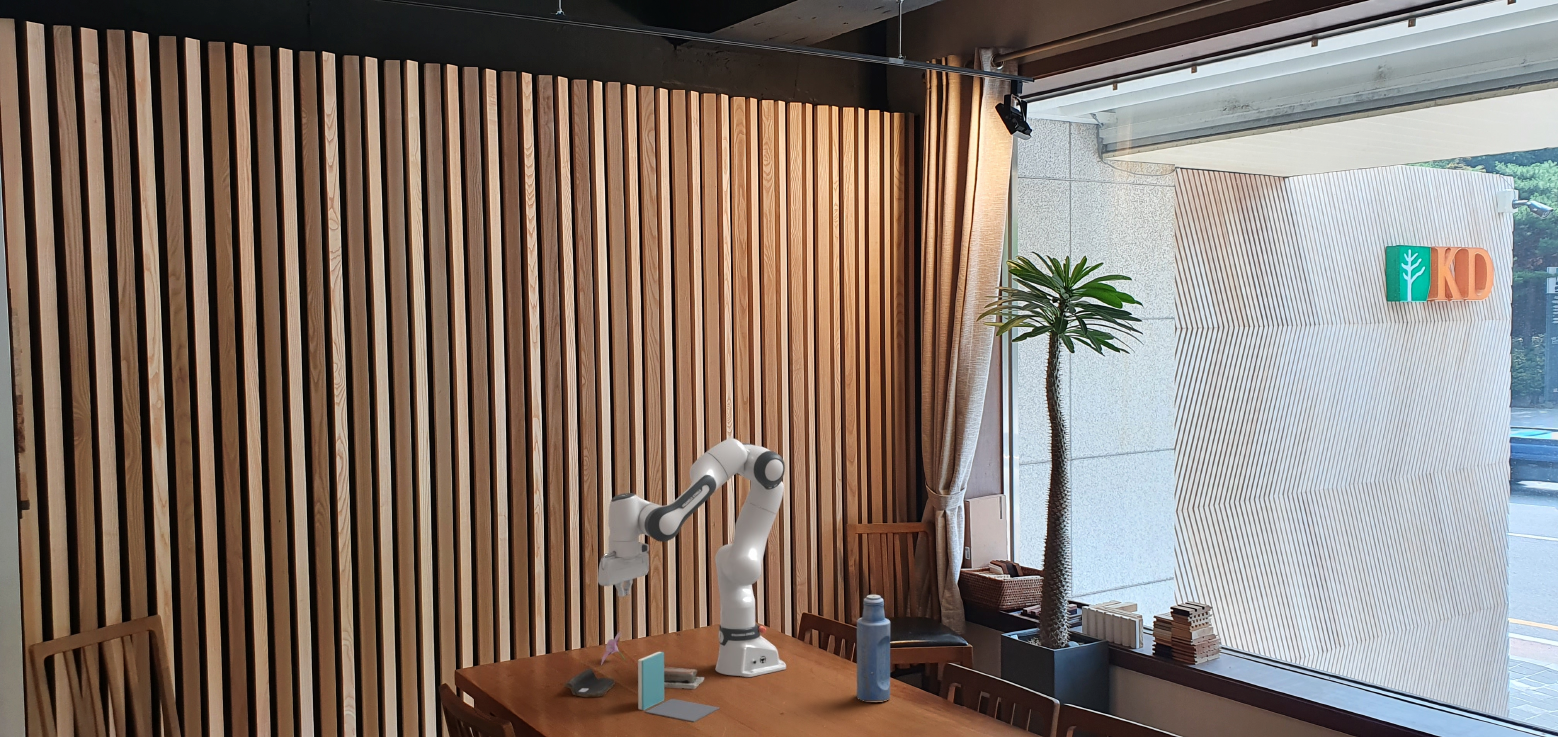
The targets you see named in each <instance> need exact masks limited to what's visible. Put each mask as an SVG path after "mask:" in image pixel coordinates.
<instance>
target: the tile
mask: <svg viewBox="0 0 1558 737" xmlns="http://www.w3.org/2000/svg"><path fill="white" fill-rule="evenodd" d="M637 665H638V666H637V668H638V669H637V672H638V673H637V675H638V676H637V681H638V683H637V685H638V686H637V689H638V691H637V693H638V694H637V695H638V697H637V698H638V699H637V701H638V702H637V703H638V705H637V706H638V710H640V711H646V710H648V709H650V708H653V707H655V705H656V706H657V705H659V704H661V703H663V702H665V687H664V667H665V652H664V651H657V652H654V653H652V654H650V655H649V654H648V655H647V656H644V657H641V658H640V659H638V660H637Z"/></svg>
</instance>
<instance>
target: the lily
mask: <svg viewBox="0 0 1558 737" xmlns="http://www.w3.org/2000/svg"><path fill="white" fill-rule="evenodd" d="M622 634H623V632H621V630H620V631H618V633H617V634H616V636H615V638H614V639H613V638H611V639H609V640H608V641H607V642H606V646H605V649H606V652H604V654H603V655H602V657H601V663H600V664H601V666H602V665H603V663H605V662H604V661H605V660H606V658H607V657H608V656H610V655H613V654H615V653H619V655H620V656H621V657H622V658H623V660H624V661H626V659H625V657H624V656H623V654H622V652H620V651H619V647H618V640H619V638H620V637H621V636H622Z"/></svg>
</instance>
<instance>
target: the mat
mask: <svg viewBox="0 0 1558 737" xmlns="http://www.w3.org/2000/svg"><path fill="white" fill-rule="evenodd" d="M720 709H721V708H720V707H718V706H713V705H707V704H702V703H697V702H691V701H686V700H681V699H676V698H670V699H668V700H666V701H663V702H661V703H659V704H657V705H656V706H652V707H650V708H648V709H646V710H644V713H646V714H650V715H656V716H661V717H666V718H671V719H676V720H682V721H685V722H686V721H687V722H690V723H695V722H697V721H699V720H701V719H703V718H704V717H707V716H709V715H710V714H713V713H714V712H716V711H718V710H720Z"/></svg>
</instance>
